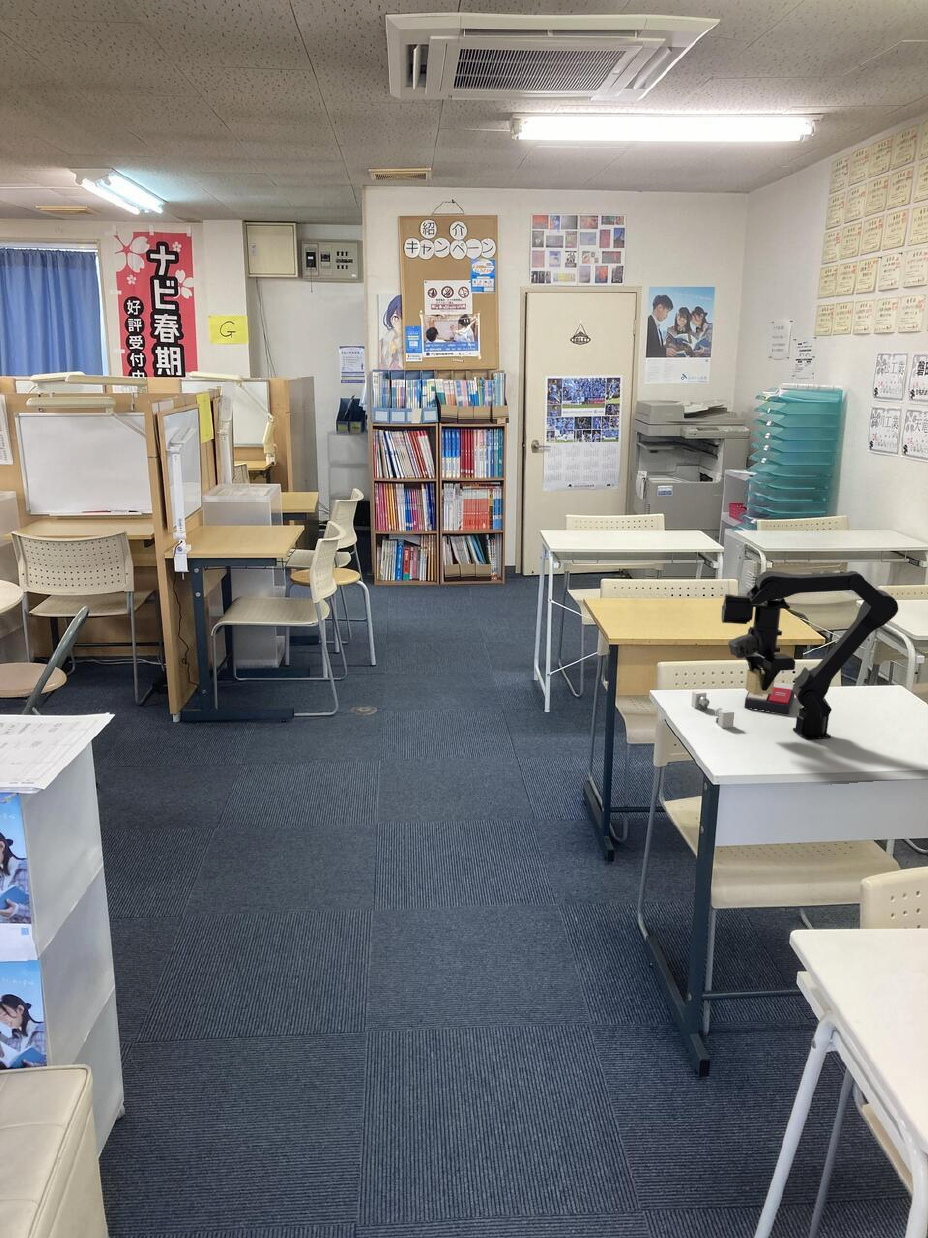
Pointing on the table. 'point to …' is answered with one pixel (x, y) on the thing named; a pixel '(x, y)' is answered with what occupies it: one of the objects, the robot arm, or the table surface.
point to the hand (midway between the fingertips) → (759, 687)
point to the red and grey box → (772, 699)
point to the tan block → (757, 682)
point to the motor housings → (724, 715)
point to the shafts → (704, 703)
